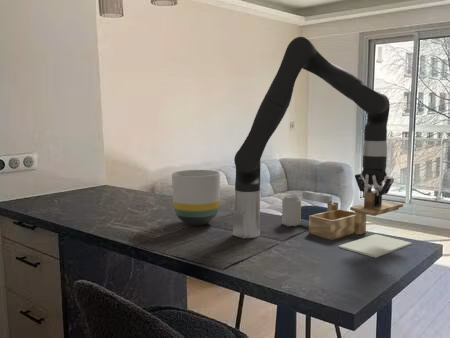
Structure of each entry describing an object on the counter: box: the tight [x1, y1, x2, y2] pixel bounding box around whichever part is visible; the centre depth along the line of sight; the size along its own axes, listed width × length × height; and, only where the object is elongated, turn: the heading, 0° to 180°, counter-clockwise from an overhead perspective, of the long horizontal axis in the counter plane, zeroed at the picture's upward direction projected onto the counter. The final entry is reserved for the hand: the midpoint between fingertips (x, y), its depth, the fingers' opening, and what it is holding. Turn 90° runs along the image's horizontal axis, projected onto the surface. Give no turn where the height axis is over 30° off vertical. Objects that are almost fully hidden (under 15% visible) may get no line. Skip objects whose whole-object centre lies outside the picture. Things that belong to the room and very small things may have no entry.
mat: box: [338, 233, 413, 259], centre depth 150 cm, size 22×14×1 cm, turn 129°
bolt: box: [301, 190, 333, 205], centre depth 180 cm, size 2×14×3 cm, turn 39°
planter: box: [171, 169, 221, 226], centre depth 179 cm, size 20×20×21 cm
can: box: [281, 194, 302, 227], centre depth 178 cm, size 8×8×12 cm
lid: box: [349, 189, 404, 217], centre depth 148 cm, size 18×9×7 cm, turn 129°
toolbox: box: [308, 201, 367, 241], centre depth 166 cm, size 18×15×10 cm
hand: (372, 205), depth 146 cm, fingers closed on lid, 2 cm apart
